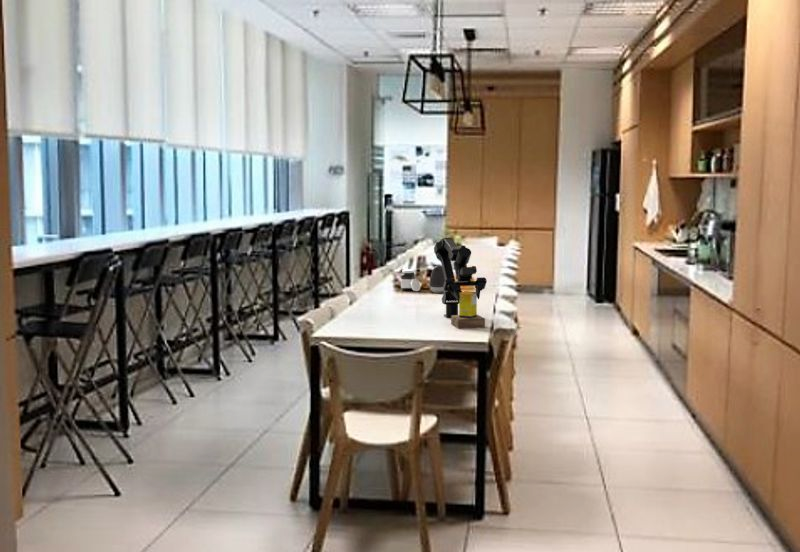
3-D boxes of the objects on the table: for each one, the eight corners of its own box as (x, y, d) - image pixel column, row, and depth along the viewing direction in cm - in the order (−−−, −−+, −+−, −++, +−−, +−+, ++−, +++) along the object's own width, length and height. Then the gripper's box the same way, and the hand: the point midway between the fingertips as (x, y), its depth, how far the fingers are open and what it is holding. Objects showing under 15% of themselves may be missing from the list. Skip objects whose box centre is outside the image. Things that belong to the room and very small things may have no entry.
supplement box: (464, 315, 410) (464, 290, 408) (476, 316, 407) (477, 291, 406) (458, 317, 405) (458, 292, 403) (471, 318, 402) (471, 293, 400)
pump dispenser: (426, 293, 512) (426, 266, 510) (433, 290, 522) (432, 264, 520) (443, 294, 508) (443, 266, 506) (450, 291, 518) (450, 264, 516)
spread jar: (404, 288, 531) (403, 268, 530) (423, 289, 528) (423, 269, 527) (398, 291, 520) (398, 271, 518) (417, 292, 517) (417, 271, 515)
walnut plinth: (451, 324, 411) (451, 315, 410) (476, 323, 413) (476, 314, 413) (458, 328, 399) (458, 319, 398) (484, 327, 401) (484, 318, 401)
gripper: (444, 260, 405) (451, 288, 395) (485, 259, 408) (493, 287, 399) (440, 276, 413) (446, 304, 404) (480, 274, 417) (487, 302, 408)
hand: (468, 299), depth 403 cm, fingers open, 9 cm apart
